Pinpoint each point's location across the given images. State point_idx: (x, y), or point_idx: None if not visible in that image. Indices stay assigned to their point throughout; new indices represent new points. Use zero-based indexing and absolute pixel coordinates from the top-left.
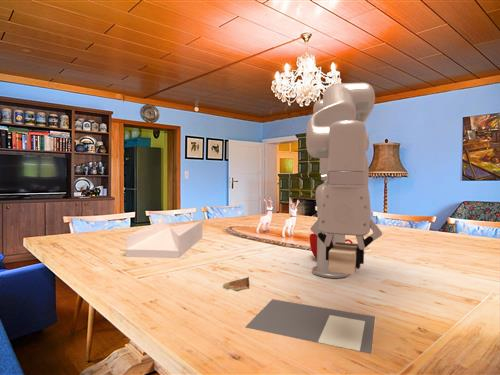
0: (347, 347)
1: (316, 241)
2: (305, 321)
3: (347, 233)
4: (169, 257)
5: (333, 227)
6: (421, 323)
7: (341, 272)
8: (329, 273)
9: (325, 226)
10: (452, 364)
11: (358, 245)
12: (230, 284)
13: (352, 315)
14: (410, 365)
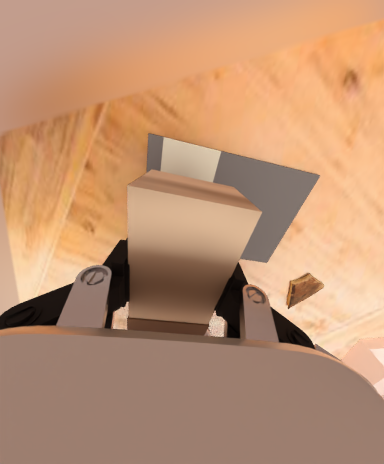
0: (180, 143)
1: None
2: None
3: (149, 343)
4: (372, 338)
5: (297, 419)
6: (90, 242)
7: (193, 178)
8: None
9: (371, 427)
10: (44, 139)
11: (108, 282)
12: (317, 286)
13: None
14: (97, 121)
